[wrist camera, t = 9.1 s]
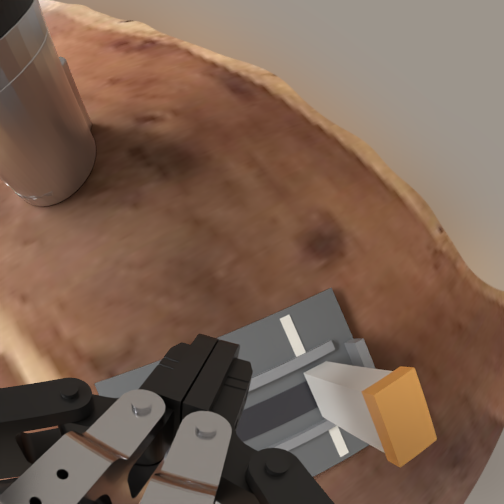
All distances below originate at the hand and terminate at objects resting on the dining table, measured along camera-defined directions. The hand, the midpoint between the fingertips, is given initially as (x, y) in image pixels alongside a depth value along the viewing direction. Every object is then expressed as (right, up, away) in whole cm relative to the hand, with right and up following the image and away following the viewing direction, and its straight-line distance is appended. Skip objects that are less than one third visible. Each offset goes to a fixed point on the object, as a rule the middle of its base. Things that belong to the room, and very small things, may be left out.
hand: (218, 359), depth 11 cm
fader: (+7, -7, +11) cm, 15 cm away
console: (+1, -9, +12) cm, 15 cm away
